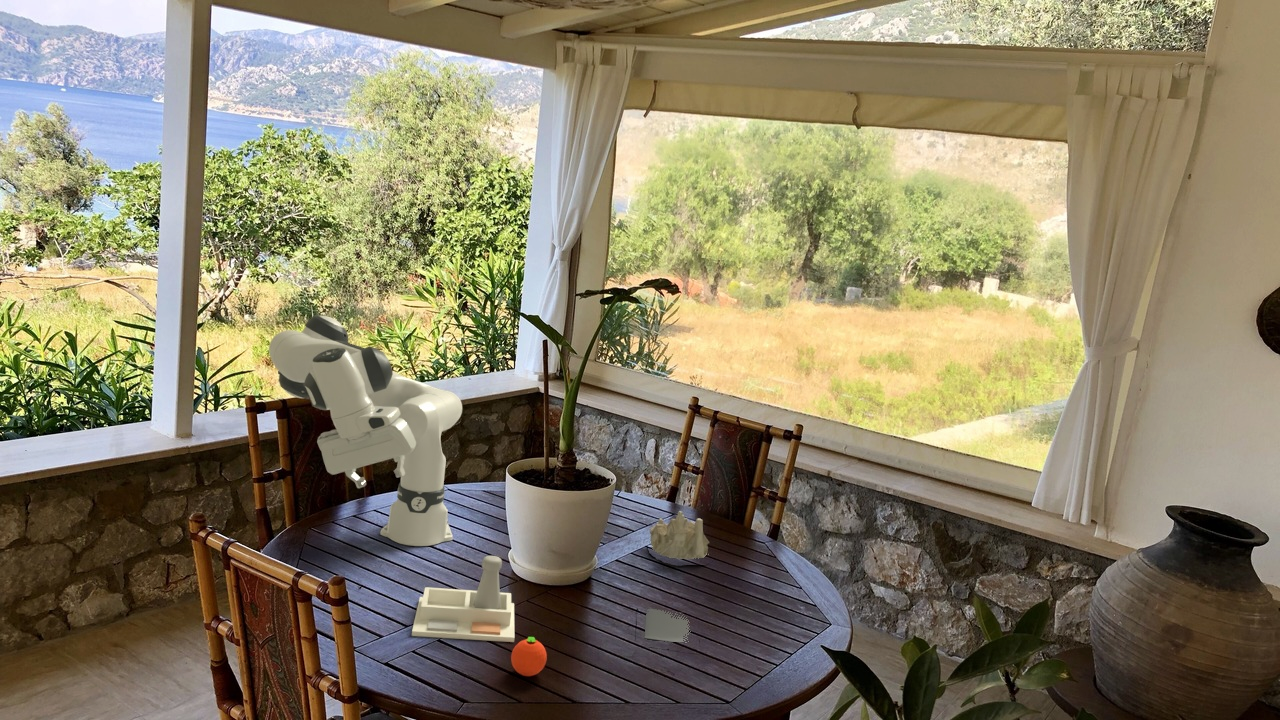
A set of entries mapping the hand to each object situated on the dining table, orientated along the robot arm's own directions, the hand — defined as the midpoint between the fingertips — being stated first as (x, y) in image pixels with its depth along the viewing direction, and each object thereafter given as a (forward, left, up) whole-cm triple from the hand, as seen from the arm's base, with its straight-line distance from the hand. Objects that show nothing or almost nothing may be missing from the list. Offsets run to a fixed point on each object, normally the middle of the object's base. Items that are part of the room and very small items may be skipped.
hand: (381, 481), depth 196 cm
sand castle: (-44, +77, -28) cm, 93 cm away
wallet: (+4, +66, -29) cm, 72 cm away
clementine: (+27, +34, -28) cm, 52 cm away
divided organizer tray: (+6, +21, -28) cm, 35 cm away
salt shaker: (+4, +25, -27) cm, 37 cm away
